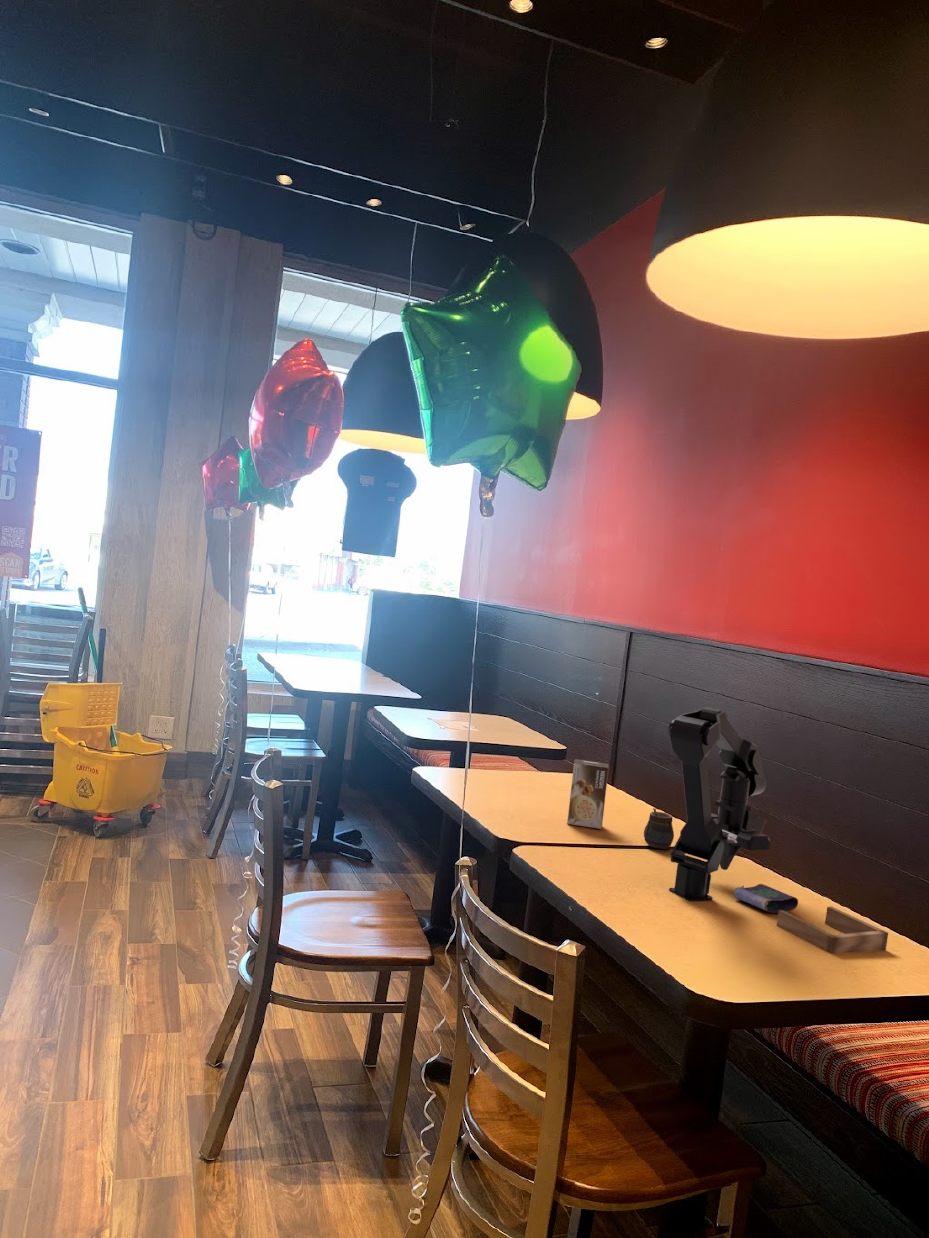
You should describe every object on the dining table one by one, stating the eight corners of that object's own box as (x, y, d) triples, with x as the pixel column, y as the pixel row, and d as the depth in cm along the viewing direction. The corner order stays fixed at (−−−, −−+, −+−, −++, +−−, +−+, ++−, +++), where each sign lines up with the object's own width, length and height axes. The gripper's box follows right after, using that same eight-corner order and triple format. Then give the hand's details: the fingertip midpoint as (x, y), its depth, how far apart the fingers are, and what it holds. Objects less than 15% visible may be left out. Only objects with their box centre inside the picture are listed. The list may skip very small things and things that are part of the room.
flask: (766, 900, 182) (727, 884, 192) (765, 915, 182) (726, 898, 192) (799, 896, 187) (758, 880, 196) (798, 910, 187) (757, 894, 196)
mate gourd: (676, 847, 227) (681, 807, 227) (665, 853, 221) (671, 812, 220) (649, 840, 231) (654, 800, 230) (637, 845, 224) (643, 805, 224)
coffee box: (602, 823, 242) (609, 763, 241) (601, 829, 235) (609, 768, 235) (567, 818, 243) (574, 758, 242) (566, 823, 237) (573, 762, 236)
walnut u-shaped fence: (831, 957, 165) (833, 938, 165) (776, 928, 177) (778, 910, 176) (885, 951, 171) (888, 932, 171) (829, 923, 183) (831, 906, 183)
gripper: (793, 810, 195) (783, 882, 195) (731, 788, 211) (722, 854, 212) (754, 810, 190) (744, 884, 190) (694, 787, 206) (684, 855, 207)
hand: (724, 869), depth 200 cm, fingers closed
